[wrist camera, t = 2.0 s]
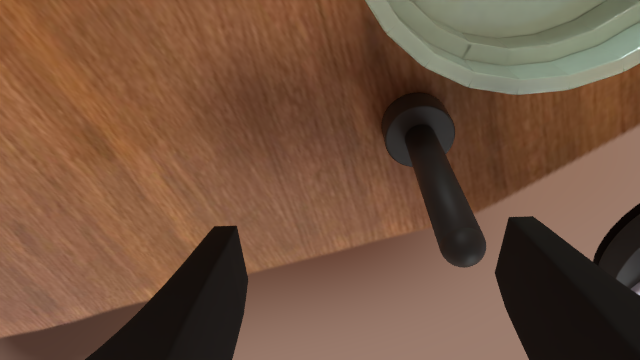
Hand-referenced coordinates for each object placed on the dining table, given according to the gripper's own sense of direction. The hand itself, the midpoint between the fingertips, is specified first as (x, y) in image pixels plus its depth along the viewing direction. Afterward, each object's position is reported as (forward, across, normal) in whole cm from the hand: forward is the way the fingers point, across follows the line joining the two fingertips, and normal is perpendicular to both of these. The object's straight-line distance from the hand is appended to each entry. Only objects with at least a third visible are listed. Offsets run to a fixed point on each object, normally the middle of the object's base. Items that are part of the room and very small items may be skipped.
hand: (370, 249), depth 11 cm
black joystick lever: (+10, -3, +1) cm, 11 cm away
